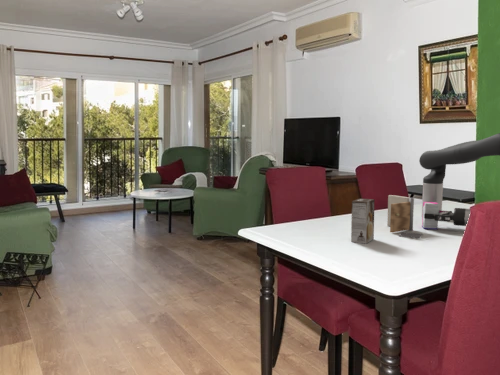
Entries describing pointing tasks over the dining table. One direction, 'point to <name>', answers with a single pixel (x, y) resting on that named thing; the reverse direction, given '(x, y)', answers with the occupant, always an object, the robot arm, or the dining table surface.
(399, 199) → the cream upright panel
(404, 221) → the door
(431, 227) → the supplement box
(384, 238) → the dining table surface
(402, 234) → the pad
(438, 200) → the robot arm
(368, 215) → the coffee box
